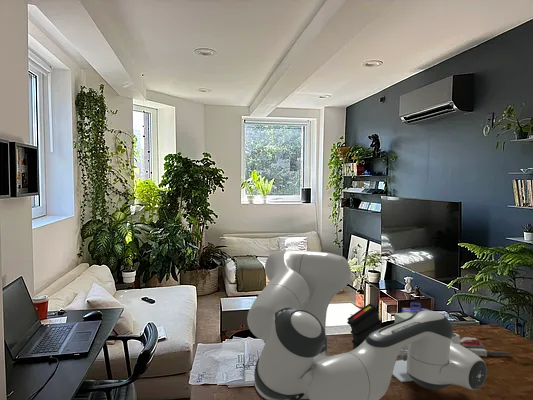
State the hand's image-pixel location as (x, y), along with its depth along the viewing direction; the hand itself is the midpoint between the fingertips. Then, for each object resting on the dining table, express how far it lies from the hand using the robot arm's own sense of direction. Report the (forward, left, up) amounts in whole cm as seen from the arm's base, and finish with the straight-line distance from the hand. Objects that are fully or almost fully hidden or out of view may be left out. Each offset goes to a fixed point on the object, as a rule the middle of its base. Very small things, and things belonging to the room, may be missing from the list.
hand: (404, 331), depth 121 cm
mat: (0, -1, -12) cm, 12 cm away
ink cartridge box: (+18, +17, -13) cm, 28 cm away
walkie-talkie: (+33, +5, -13) cm, 35 cm away
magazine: (-2, +19, -13) cm, 23 cm away
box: (0, -1, -8) cm, 8 cm away
